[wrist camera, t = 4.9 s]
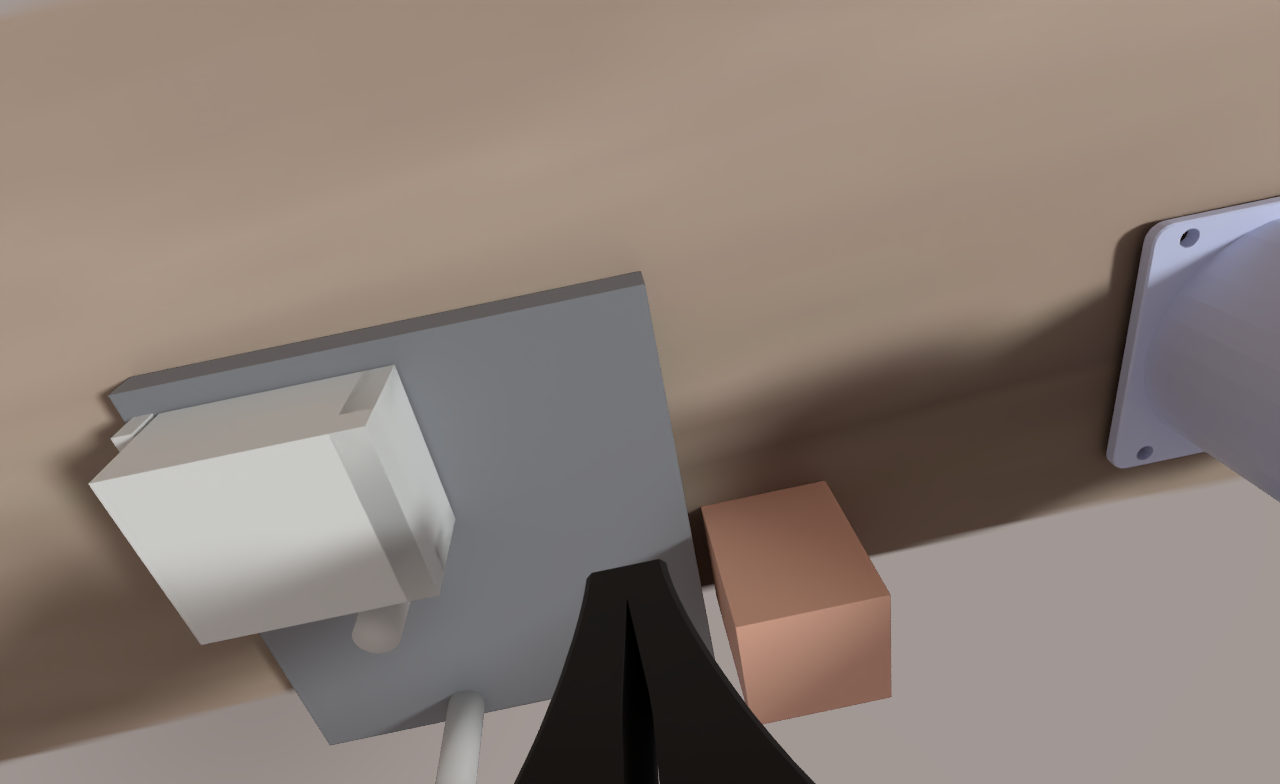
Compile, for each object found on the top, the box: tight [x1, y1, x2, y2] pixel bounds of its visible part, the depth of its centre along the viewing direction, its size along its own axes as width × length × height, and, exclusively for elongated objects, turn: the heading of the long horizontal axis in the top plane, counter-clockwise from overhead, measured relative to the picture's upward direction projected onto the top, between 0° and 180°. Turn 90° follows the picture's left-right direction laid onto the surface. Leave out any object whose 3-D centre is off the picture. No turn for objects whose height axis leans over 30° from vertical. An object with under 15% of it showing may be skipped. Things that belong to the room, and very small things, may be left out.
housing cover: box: [89, 365, 455, 645], centre depth 17 cm, size 6×5×3 cm
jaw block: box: [701, 481, 891, 724], centre depth 21 cm, size 4×4×5 cm
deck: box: [108, 271, 715, 784], centre depth 20 cm, size 14×14×4 cm
